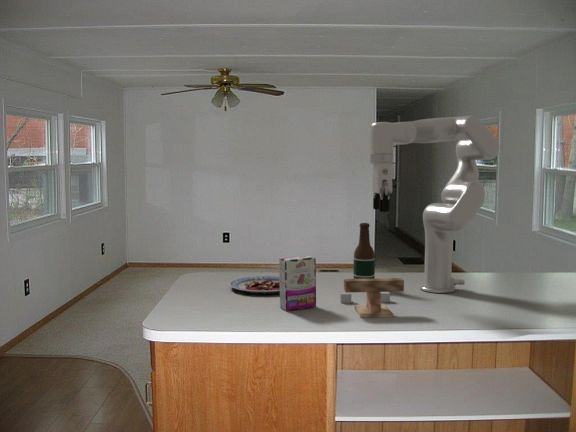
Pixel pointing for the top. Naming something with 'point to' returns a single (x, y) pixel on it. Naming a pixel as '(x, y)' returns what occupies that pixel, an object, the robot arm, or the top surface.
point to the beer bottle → (364, 255)
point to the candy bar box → (297, 282)
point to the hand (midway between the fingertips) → (380, 210)
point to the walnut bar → (374, 285)
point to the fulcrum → (373, 307)
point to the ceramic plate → (257, 284)
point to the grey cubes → (347, 297)
